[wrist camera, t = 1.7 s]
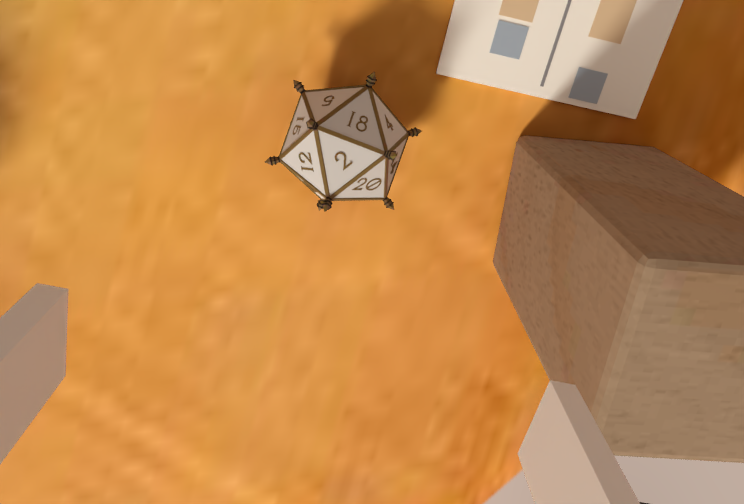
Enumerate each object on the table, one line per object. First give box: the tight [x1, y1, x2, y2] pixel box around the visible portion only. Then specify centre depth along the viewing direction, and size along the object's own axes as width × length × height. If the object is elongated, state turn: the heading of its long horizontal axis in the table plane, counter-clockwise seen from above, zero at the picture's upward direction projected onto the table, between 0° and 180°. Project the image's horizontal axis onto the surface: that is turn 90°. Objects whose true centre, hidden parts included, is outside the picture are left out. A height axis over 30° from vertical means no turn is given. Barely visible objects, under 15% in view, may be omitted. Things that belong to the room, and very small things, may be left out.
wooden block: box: [493, 135, 744, 463], centre depth 34 cm, size 10×10×20 cm
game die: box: [265, 72, 421, 211], centre depth 37 cm, size 9×8×10 cm
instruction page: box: [436, 0, 683, 119], centre depth 37 cm, size 10×14×1 cm
